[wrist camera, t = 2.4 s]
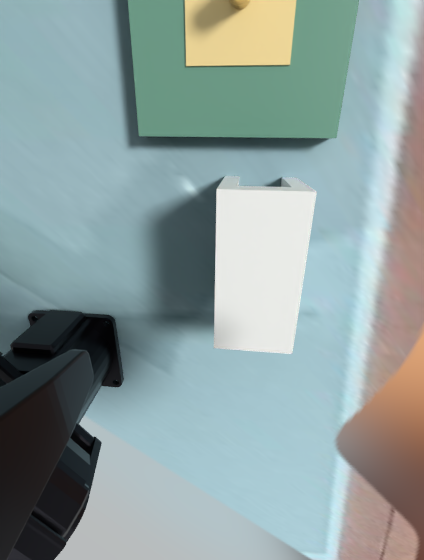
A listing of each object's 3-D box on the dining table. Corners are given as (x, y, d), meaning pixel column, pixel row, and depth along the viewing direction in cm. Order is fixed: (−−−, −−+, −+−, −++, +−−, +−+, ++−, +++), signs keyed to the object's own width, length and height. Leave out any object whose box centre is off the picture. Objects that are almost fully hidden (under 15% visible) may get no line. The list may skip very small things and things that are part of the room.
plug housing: (280, 302, 20) (292, 353, 15) (221, 298, 21) (213, 348, 16) (296, 177, 17) (316, 191, 12) (225, 175, 17) (216, 189, 12)
